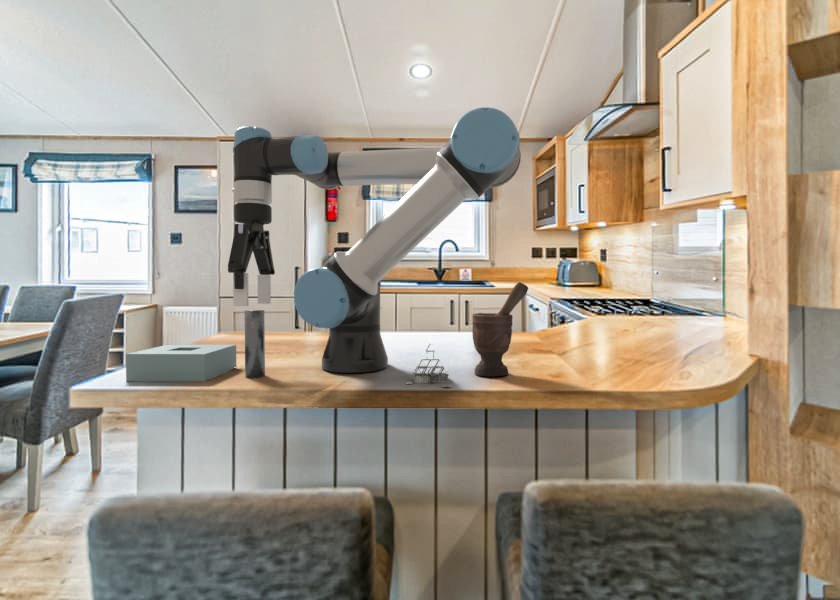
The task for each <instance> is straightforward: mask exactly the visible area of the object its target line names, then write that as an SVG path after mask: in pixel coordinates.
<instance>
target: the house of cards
mask: <svg viewBox="0 0 840 600" xmlns="http://www.w3.org/2000/svg"><path fill="white" fill-rule="evenodd" d="M430 346H431V343H429V345H428V346H427V348H426V350H425V352H426V353H428V352H429V353H430V352H431V353H433V355H432V356H433V357H432V358H433V359H432V358H426V359H425V358H424V359H421V360H420V361H419V364H418V365H417V366H416V368H415V369H414V370H413V372H412V381H406V382H405V384H406V385H408V384H409V385H412V384H413V383H414V384H415V383H428V384H430V383H434V384H436V383H448V382H449V376H450V375H449V373H448V372H447V370H445V366H443V364H441V365H438V364H439V363H440V359H439V358H435V352H436V351H435V350H428V349H429V348H430ZM424 361H428V362H427V364H426V365H421V363H422V362H424ZM432 361H437V362H436V363H435V365H434V366H429V365H430V363H431V362H432ZM421 369H423V370H422V371H421ZM437 369H439V371H438V372H435V370H437ZM418 371H419V372H418ZM426 371H427V372H426ZM443 371H445V372H443ZM441 387H442V388H444V387H446V388H451V387H452V385H447V384H446V385H445V384H442V385H441Z"/></svg>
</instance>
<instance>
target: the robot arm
mask: <svg viewBox="0 0 840 600" xmlns="http://www.w3.org/2000/svg"><path fill="white" fill-rule="evenodd" d="M233 137H234V140H233V148H232V149H233V151H232V152H233V168H234V169H233V171H234V174H233V175H234V179H233V181H234V183H233V188H232V189H231V190H232V192H233V195H234V196H233V197H234V198H233V200H234V202H236V203H235V204H234V205H233V220H234V222H235V223H234V233H233V234H234V235H233V239H232V243H231V248H230V253H229V260H228V264H227V272H228V273H230V274H231V273H232V274H233V276H232V279H233V280H232V281H233V283H232V287H233V289H232V291H233V297H232V298H233V299H232V300H233V301H232V302H233V305H232V306H233V307H249V273H248V272H247V270H248V267H249V264H250V260H251V258H252V254H253V257H254V259H255V262H256V266H257V270H258V273H259V274H257V304H258V305H261V304H263V305H264V304H269V305H271V304H272V302H271V300H272V299H271V298H272V297H271V293H272V291H271V289H272V287H271V284H272V283H271V280H272V279H271V275H272V276H273V275H275V274H276V270H275V266H274V261H273V254H272V249H271V248H272V247H271V241H270V231H269V230H267V229H266V230H265V229H264V226H265V225H268V224H272V218H273V217H272V212H273V210H272V206H271V204H272V202H273V193H272V192H273V190H272V188H273V187H272V179H273V176H285V175H286V176H289V175H293V176H296V177H298V178H300V179H303V180H304V181H307V182H309V183H312V184H313V185H315V186H316V187H318V188H319V189H322V190H323V189H324V190H335V189H338V188H339V187H343V186H344V187H345V186H378V185H379V186H380V185H382V186H383V185H414V186H413V187H412V188H411V189H410V190H409V191H408V192H407V193H406V194H405V195H403V197H402V198H400V200H398V202H397V203H395V205H394V206H393V207H391V208H390V210H388V211H387V212H386V214H384V215H383V216H382V217H381V218H380V219H379V220H378V221H377V222H376V223H375V224H374V225H373V226H372V227H371V228H370V229H369V230H368V231H367V232H365V234H363V236H362V237H361V238H359V240H358V241H357V242H356V243H355V244H353V246H351V247H350V248H349V250H348V251H336V252H334V253H333V255H331V256H330V257H329V258H328V260H326V261H325V262H324V263H323V264H322V265H321V266H320V267H314V268H312V269H309V270H307V271H305V272H304V273H303V274H301V276H300V277H299V278H298V279H297V281H296V283H295V286H294V289H293V303H294V306H295V307H294V308H295V309H296V312H297V313H298V315H299V316H300V318H301V319H302V320H303V321H304V322H306V324H308V325H309V326H312V327H314V328H318V329H329V334H328V335H329V336H328V339H327V342H326V345H325V349H324V351H323V354H322V358H321V369H322V370H324V371H327V372H334V373H345V374H346V373H369V372H371V373H372V372H378V371H382V370H385V369H387V368H388V367H389V366H388V365H389V364H388V363H389V361H388V360H389V359H388V358H389V357H388V355H387V350H386V348H385V345H384V343H383V338H382V336H381V286H382V284H381V283H382V281H381V280H382V279H383V278H384V277H385V276H387V274H389V273H390V271H392V269H394V268H395V267H396V266H397V265H398V264H399V263H400V262H401V261H402V260H403V259H404V258H405V257H406V256H407V255H408V254H409V253H411V252H412V251H413V250H414V249H415V248H416V247H417V246H418V245H419V244H420V243H421V242H422V241H423V240H425V238H427V236H428V235H429V234H431V233H432V232H433V230H435V229H436V228H437V227H438V226H439V225H440V224H442V222H443V221H444V220H445V219H447V217H449V216H450V215H451V214H452V213H453V212H454V211H455V210H456V209H457V208H458V207H459V206H460V205H462V203H464V201H466V200H467V199H472V200H474V199H476V200H477V199H479V198H481V196H482V195H484V194H485V193H486V192H487V191H488V190H489V189H494V188H498V187H501V186H504V185H505V184H507V183H508V182H510V181H511V180H512V178H514V176H515V175H516V174H517V172H518V170H519V167H520V163H521V149H520V148H521V147H520V145H521V139H520V134H519V131H518V128H517V126H516V124H515V123H514V122H513V120H512V118H511V117H510V116H509V115H507V114H506V113H505V112H503V111H502V110H499V109H497V108H495V107H487V106H486V107H478V108H474V109H472V110H469V111H468V112H466V113H465V114H464V115H462V116H461V117H460V118H459V120H457V122H456V123H455V125H454V126H453V130H452V132H451V136H450V139H449V140H448V141H446V143H445V144H444V145H443V146H442V147H425V148H424V147H423V148H422V147H421V148H400V149H398V148H397V149H378V150H353V151H352V150H350V151H337V152H336V151H332V152H331V151H330V152H329V151H328V148H327V145H326V144H325V142H324V139H323V138H322V137H320V135H319V136H318V135H307V134H302V135H301V134H300V135H296V136H295V135H294V136H293V135H292V136H282V137H280V136H279V137H272V133H271V132H270V131H269V130H267V129H265V128H263V127H258V126H248V125H247V126H241V127H238V128H237V129H236V130H235V131H234V136H233Z"/></svg>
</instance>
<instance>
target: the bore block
mask: <svg viewBox="0 0 840 600" xmlns="http://www.w3.org/2000/svg"><path fill="white" fill-rule="evenodd" d="M234 367H236V368H237V344H165V345H161V346H155V347H152V348H147V349H142V350H138V351H133V352H129V353H126V354H125V373H126V374H125V376H126V378H125V380H126V381H125V382H207V381H209V380H212V379H214V378H217V377H219V376H222V375H223V374H227V373H228V371H229V370H231V369H233V368H234ZM233 370H234V369H233ZM231 371H232V370H231ZM229 372H230V371H229Z"/></svg>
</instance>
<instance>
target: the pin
mask: <svg viewBox="0 0 840 600" xmlns="http://www.w3.org/2000/svg"><path fill="white" fill-rule="evenodd" d="M265 325H266V324H265V309H251V310H250V309H247V310H244V377H245V378H246V379H254V378H255V379H256V378H263V377H266V352H265V351H266V349H265V348H266V347H265V346H266V343H265V342H266V341H265V337H266V335H265V333H266V332H265V330H266V329H265Z"/></svg>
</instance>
